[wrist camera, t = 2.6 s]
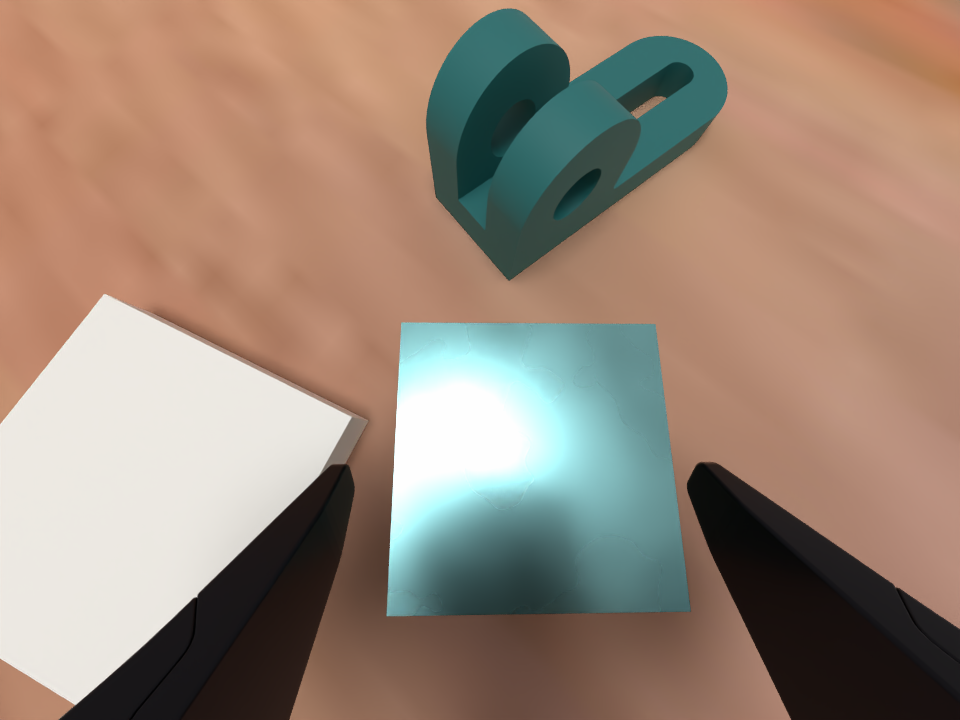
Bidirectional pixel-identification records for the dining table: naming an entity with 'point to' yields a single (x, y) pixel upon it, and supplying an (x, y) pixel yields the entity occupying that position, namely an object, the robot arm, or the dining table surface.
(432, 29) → the dining table surface
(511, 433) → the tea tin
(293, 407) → the riser block
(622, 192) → the bracket
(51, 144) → the dining table surface
